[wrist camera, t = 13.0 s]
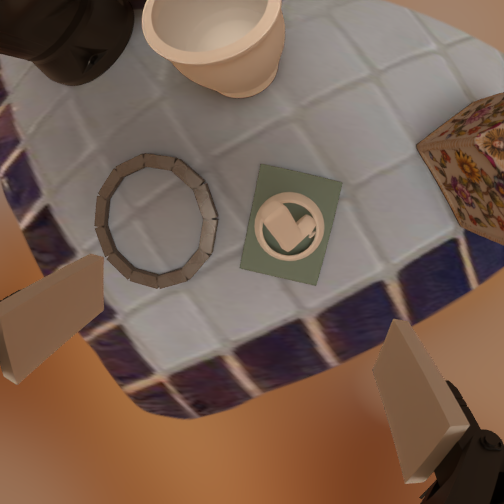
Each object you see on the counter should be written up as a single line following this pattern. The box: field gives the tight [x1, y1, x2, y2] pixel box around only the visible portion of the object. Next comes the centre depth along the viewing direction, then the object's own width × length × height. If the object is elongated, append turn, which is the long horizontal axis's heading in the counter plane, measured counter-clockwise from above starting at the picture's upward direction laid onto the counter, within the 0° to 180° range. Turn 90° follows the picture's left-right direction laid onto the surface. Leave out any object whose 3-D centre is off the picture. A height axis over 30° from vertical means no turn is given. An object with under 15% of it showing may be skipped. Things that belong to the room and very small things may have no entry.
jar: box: [142, 0, 285, 98], centre depth 24 cm, size 11×10×15 cm
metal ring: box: [95, 154, 219, 289], centre depth 37 cm, size 16×16×1 cm
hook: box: [254, 192, 324, 261], centre depth 31 cm, size 8×12×7 cm
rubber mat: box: [240, 164, 342, 286], centre depth 35 cm, size 12×9×1 cm
